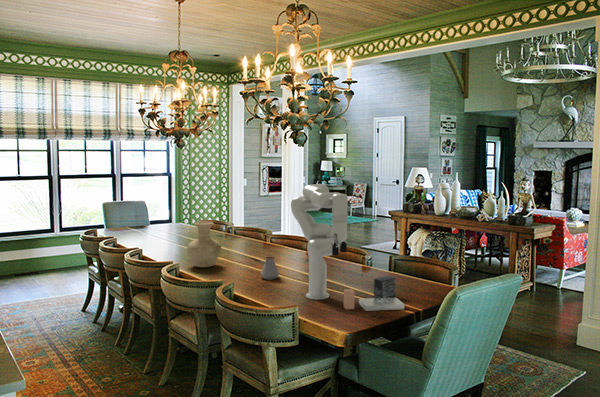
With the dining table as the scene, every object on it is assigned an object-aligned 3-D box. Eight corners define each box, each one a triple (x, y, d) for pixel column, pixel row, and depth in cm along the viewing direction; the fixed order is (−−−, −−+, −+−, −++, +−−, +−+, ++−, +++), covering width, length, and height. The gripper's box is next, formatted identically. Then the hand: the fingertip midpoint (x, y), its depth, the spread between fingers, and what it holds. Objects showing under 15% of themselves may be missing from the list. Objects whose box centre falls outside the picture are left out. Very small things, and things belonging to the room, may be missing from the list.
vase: (221, 269, 324) (220, 225, 321) (186, 270, 321) (185, 225, 318) (221, 262, 346) (220, 220, 343) (188, 263, 343) (188, 220, 340)
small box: (386, 293, 272) (386, 275, 271) (395, 296, 267) (395, 277, 266) (373, 297, 265) (373, 278, 264) (382, 300, 260) (382, 280, 259)
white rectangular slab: (359, 303, 254) (359, 298, 253) (396, 302, 257) (396, 297, 257) (365, 310, 242) (365, 305, 242) (404, 309, 245) (404, 304, 245)
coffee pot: (271, 274, 312) (271, 251, 311) (282, 278, 303) (283, 254, 302) (243, 280, 298) (243, 256, 297) (254, 284, 290) (254, 259, 288)
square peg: (343, 306, 249) (343, 289, 248) (351, 306, 249) (352, 288, 248) (345, 309, 244) (345, 291, 243) (354, 308, 245) (354, 291, 244)
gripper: (339, 216, 249) (339, 250, 251) (325, 220, 234) (325, 255, 235) (353, 217, 246) (353, 251, 247) (339, 221, 231) (339, 257, 232)
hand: (339, 253), depth 241 cm, fingers open, 9 cm apart
